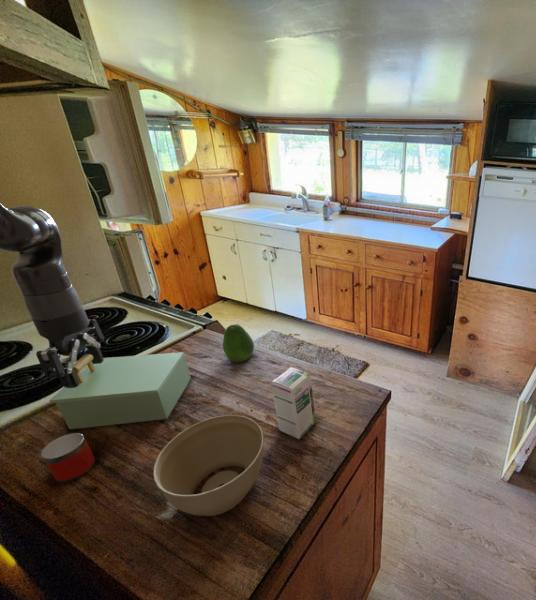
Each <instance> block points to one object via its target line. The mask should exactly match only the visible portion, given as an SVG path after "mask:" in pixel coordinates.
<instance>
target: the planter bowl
mask: <svg viewBox="0 0 536 600" xmlns="http://www.w3.org/2000/svg"><path fill="white" fill-rule="evenodd" d="M264 444H265V438H264V433H263V430H262V427H261V426H260V425H259V423H258V422H256V421H255V420H253V419H252V418H249V417H247V416H244V415H238V414H223V415H217V416H213V417H210V418H206V419H204V420H201V421H199V422H197V423H194V424H192V425H190V426H189V427H186V428H185V429H183V430H181V432H179V433H177V435H176V436H174V437H173V438H172V439H171V440H170V441H169V442H168V443H167V444H166V445H165V446H164V447H163V448H162V450H160V452H159V454H158V456H157V457H156V460H155V462H154V466H153V474H152V475H153V481H154V483H155V485H156V487H157V488H158V490H160V492H161V493H162V495H163V496H164V497H165V499H166V500H167V502H168V503H169V504H171V505H172V506H173V507H174V508H176V509H177V510H179V511H181V512H183V513H186V514H188V515H194V516H200V517H201V516H203V517H212V516H218V515H221V514H224V513H227V512H228V511H230V510H231V509H233V508H235V507H236V506H237V505H238V504H239V503H241V502H242V501H243V499H244V498H245V497H246V496H247V494H248V493H249V492H250V490H251V489H252V487H253V486H254V484H255V483H256V481H257V478H258V477H259V474H260V472H261V469H262V465H263V461H264ZM227 467H239V468H243V469H244V470H243V471H242V472H238V471H237V470H233V469H230V470H229V469H228V470H223V471H220V472H217V473H215V474H213V475H212V476H210V477H209V478H208V479H207V480H206V481H205V482H204V484H203V485H202V487H201V489H200V492H199V493H196V494H195V492H196V489H197V488H198V486H199V485H200V484H201V482H202V481H203V480H204V479H205V478H206V477H207V476H209V475H210V474H212V473H213V472H216V471H217V470H220V469H222V468H223V469H224V468H227Z"/></svg>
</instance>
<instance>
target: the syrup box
mask: <svg viewBox="0 0 536 600" xmlns="http://www.w3.org/2000/svg"><path fill="white" fill-rule="evenodd" d="M270 384H271V390H272V396H273V403H274V407H275V413H276V419H277V424H278V430H279V431H281V433H282V432H283V433H284V434H287V435H289V436H291V437H292V438H295V439H298V440H300V439H301V438H303V436H305V434H306V433H307V432H308V431H309V430H310V429H311V428H312V427H313V425H315V423H317V421H316V411H315V404H314V394H313V383H312V375H311V374H310V373H308V372H307V371H304V370H301V369H298V368H295V367H291V366H290V367H289V368H288V369H287V370H285V371H284V372H282V373H281V374H279V375H278V376H277V377H275V378H274V379H272V380H271V381H270Z"/></svg>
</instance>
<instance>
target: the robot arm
mask: <svg viewBox="0 0 536 600" xmlns="http://www.w3.org/2000/svg"><path fill="white" fill-rule="evenodd" d="M62 243H63V241H62V236H61V232H60V230H59V227H58V224H57V223H56V221H55V220H54V218H53V217H52V216H51V215H50V214H49V213H47V212H46V211H44V210H43V209H41V208H39V207H37V206H33V205H17V206H13V207H8V208H7V207H5V206H4V205H3V203H0V250H1V251H5V252H12V253H18V258H17V260H16V261H15V262H14V263H13V264H12V266H11V268H10V272H11V275H12V277H13V279H14V281H15V283H16V286H17V288H18V290H19V291H20V294H21V296H22V299H23V303H24V306H25V308H26V310H27V312H28V314H29V317H30V319H31V320H32V322H33V325H34V327H35V329H36V331H37V333H38V335H39V336H40V337H42V338H44V339H46V340H48V345H49V346H48V347H47V348H45V349H43V350H37V351H36V354H35V355H36V357H37V360H38V363H39V366H40V367H41V369H42V372H43V374H44V376H45V378H46V379H51V378H59V380H60V383H61V384H62V386H63V387H66V388H76V387H77V386H78V385H79V382H78V380H77V377H76V375H75V373H74V371H72V369H73V364H75V363H76V362H77V358H78V354H80V352H81V351H82V350H85V352H86V354H91V355H92V356H93V360H92V363H93V364H100V363H102V362H103V361H104V359H103V358H104V357H103V353H102V351H101V345H102V344H101V343H102V342H105V337H104V334H103V333H102V329H101V328H100V326H99V324H98V321H97V320H96V319H93V318H92V319H89V318H88V315H87V313H86V310H85V308H84V305H83V303H82V301H81V299H80V296H79V294H78V292H77V291H76V289H75V287H74V286H73V283H72V281H71V278H70V276H69V274H68V271H67V269H66V267H65V265H64V251H63V245H62ZM94 335H96V336H94ZM61 356H63V357H65V358H61ZM63 364H65V366H64V367H63ZM52 368H53V369H52Z"/></svg>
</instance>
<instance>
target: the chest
mask: <svg viewBox="0 0 536 600" xmlns="http://www.w3.org/2000/svg"><path fill="white" fill-rule="evenodd" d="M191 379H192V377H191V374H190V370H189V366H188V363H187V360H186V354H184V356H183V357H182V359H181V360H180V362H179V363H178V365H177V366H176V368H175V369H174V371H173V372H172V373H171V375H170V376H169V378H168V379H167V381H166V382H165V384H164V385H163V387H162V388H161V390H160V391H159V392H158V393H154V394H143V395H133V396H122V397H112V398H101V399H91V400H80V401H70V402H59V403H55V405H56V406H57V409H58V410H59V412H60V414H61V416H62V418H63V420H64V421H65V424H66V425H67V427H68V430H75V429H84V428H85V429H86V428H95V427H104V426H114V425H123V424H132V423H142V422H151V421H152V422H153V421H160V420H168V418H169V416H170V415H171V414H172V411H173V409H174V408H175V407H176V405H177V403H178V401H179V399H180V397H181V396H182V394H183V392H184V391H185V389H186V387H188V384H189V383H190V380H191Z"/></svg>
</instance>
